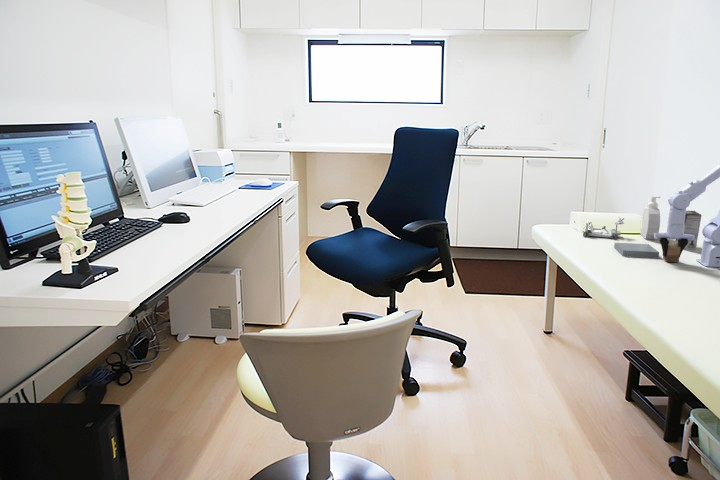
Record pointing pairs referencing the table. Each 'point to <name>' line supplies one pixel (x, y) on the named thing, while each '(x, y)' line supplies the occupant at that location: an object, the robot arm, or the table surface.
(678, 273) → the table surface
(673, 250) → the walnut block
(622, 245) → the grey box
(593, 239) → the table surface
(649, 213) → the soap bottle
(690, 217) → the coffee box
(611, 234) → the toy rover
